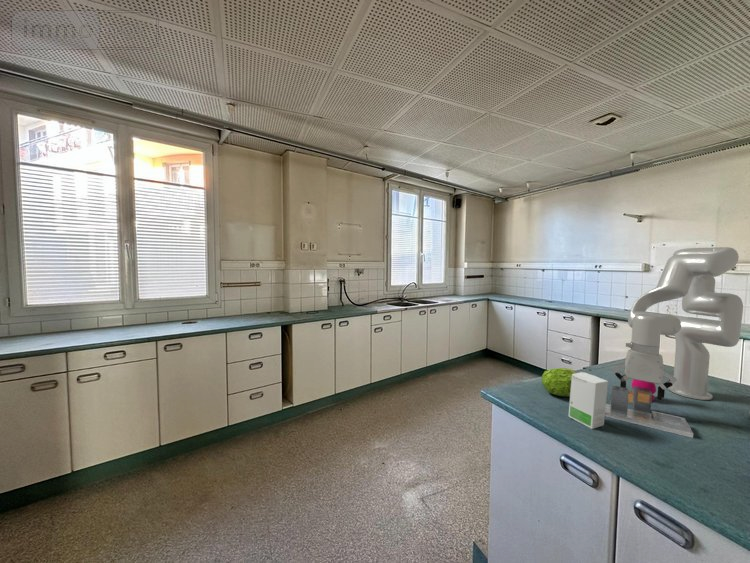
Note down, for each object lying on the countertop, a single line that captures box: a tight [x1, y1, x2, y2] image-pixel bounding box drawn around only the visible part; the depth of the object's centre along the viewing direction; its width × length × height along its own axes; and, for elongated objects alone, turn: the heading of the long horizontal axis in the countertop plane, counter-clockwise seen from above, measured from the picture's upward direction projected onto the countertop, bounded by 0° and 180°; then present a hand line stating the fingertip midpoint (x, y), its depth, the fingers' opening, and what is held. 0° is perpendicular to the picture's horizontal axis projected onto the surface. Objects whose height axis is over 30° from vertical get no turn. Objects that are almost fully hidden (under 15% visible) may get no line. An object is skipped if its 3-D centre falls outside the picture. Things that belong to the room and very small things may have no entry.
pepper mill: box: [631, 379, 657, 402], centre depth 116 cm, size 7×7×20 cm
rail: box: [605, 384, 694, 439], centre depth 99 cm, size 8×22×10 cm, turn 54°
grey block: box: [632, 386, 653, 414], centre depth 106 cm, size 6×4×8 cm
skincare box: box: [568, 371, 609, 430], centre depth 99 cm, size 8×7×16 cm
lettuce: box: [541, 367, 578, 397], centre depth 123 cm, size 12×24×13 cm
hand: (641, 395), depth 106 cm, fingers open, 9 cm apart
